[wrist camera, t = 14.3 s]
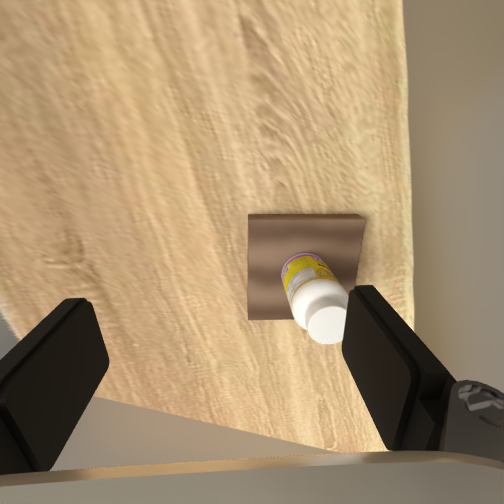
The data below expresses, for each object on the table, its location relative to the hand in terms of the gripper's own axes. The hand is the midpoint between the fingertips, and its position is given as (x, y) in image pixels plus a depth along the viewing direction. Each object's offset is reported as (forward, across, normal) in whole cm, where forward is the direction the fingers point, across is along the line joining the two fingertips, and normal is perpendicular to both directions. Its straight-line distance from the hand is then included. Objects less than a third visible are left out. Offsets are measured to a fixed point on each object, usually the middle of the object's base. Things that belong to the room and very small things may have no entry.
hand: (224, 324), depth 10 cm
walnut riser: (+30, -9, +12) cm, 33 cm away
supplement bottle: (+27, -9, +12) cm, 31 cm away
